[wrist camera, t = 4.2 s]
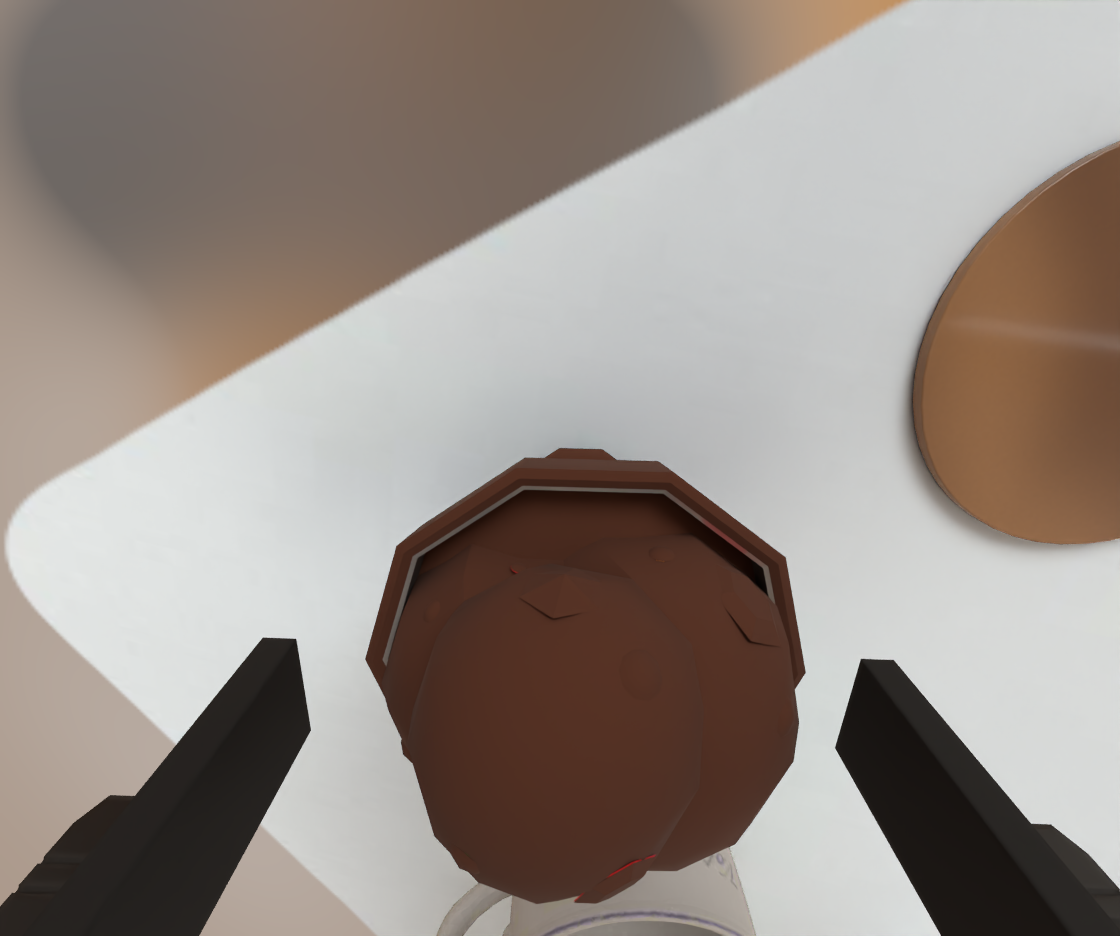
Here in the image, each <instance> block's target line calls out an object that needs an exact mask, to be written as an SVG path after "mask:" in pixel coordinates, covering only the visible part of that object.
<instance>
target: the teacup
mask: <svg viewBox="0 0 1120 936" xmlns="http://www.w3.org/2000/svg"><path fill="white" fill-rule="evenodd" d="M509 896H511V895H510V894H508V893H505V892H502V891H500V890H497V889H494V888H492V887H489V886H486V885H483V884H481V883H478V884H477V885H476V886H474V887H473V888H471V889H470V890H469V891H468V892H467V893H466V894H465V895H464V896H463V897H462V898H461V899H459V900H458V901H457V902H456V903H455V904H454V905H453V907H452V908H451V909H450V911H449V912H448V913H447V915H446V916H445V918H444V920H443V922H442V924H441V926H440V928H439V931H438V933H437V936H463V935H464V934H465V932H466V931H467V930H468V928H469V927H470V926H471V925H472V924H473V923H474V921H475V920H476V919H477V918H478V917H479V916H480V915H481V914H483V913H484V912H485V911H487V910H488V909H489V908H490V907H492V906H493V905H494V904H496V903H498V902H499V901H501V900H502V899H504V898H507V897H509ZM577 897H579V896H576V897H572V898H568V899H564V900H560V901H554V902H548V903H542V904H535V903H532V902H529V901H527V900H524V899H521V898H519V897H516V896H513V895H512V905H511V919H510V924H509V925H508V926H507V927H506V929H505V930H504V933H503V936H756V933H755V930H754V926H753V923H752V919H751V915H750V912H749V908H748V905H747V902H746V898H745V895H744V892H743V888H742V885H741V882H740V879H739V875H738V872H737V869H736V866H735V863H734V860H733V857H732V854H731V852H730V849H729V847H728V848H726V849H724V850H722V851H719V852H717V853H715V854H713V855H711V856H709V857H706V858H704V859H702V860H700V861H698V862H696V863H693V864H691V865H689V866H687V867H685V868H683V869H680V870H678V871H647V872H646V874H645V875H644V877H643V878H641V879H640V880H639V881H638V882H636V883H635V884H634V885H632V886H631V887H629V888H627V889H625V890H624V891H622V892H620V893H618V894H617V895H615V896H613V897H611V898H610V899H607V900H604V901H602V902H599V903H597V904H589V903H574V902H575V901H574V900H575V899H576V898H577Z"/></svg>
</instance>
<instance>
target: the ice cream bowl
mask: <svg viewBox="0 0 1120 936" xmlns="http://www.w3.org/2000/svg"><path fill="white" fill-rule="evenodd" d="M365 660H366V662H367V664H368V666H369V667H370V669H371V671H372V673H373V675H374V677H375V679H376V681H377V683H378V685H379V687H380V689H381V691H382V692H383V694H384V696H385V699H386V703H387V707H388V710H389V713H390V715H391V717H392V719H393V721H394V723H395V725H396V728H397V730H398V732H399V734H400V736H401V738H402V740H401V744H402V750H403V755H404V756H405V757H406V758H407V759H408V760H409V761H410V762H411V763H413V766H414V769H415V772H416V776H417V779H418V783H419V786H420V789H421V793H422V796H423V799H424V803H425V806H426V810H427V813H428V816H429V820H430V823H431V826H432V830H433V833H434V836H435V837H436V838H437V840H438V841H439V842H440V843H441V844H442V845H443V846H444V847H445V848H446V849H447V850H448V851H449V852H450V853H451V855H452V857H453V859H454V860H455V862H456V863H457V865H458V867H459V868H460V869H463V870H465V871H468V872H469V873H470V874H471V875H472V876H473V877H474V878H475V880H476V881H477V882H478V883H481V884H483V885H486V886H489V887H492V888H494V889H497V890H500V891H502V892H505V893H508V894H510V895H513V896H516V897H519V898H521V899H524V900H527V901H529V902H532V903H535V904H542V903H548V902H554V901H560V900H564V899H568V898H572V897H576V896H579V897H577V898H576V899H575V900H574V901H575V902H574V903H589V904H597V903H599V902H602V901H604V900H607V899H610V898H611V897H613V896H615V895H617V894H618V893H620V892H622V891H624V890H625V889H627V888H629V887H631V886H632V885H634V884H635V883H636V882H638V881H639V880H640V879H641V878H643V877H644V875H645V874H646V872H647V871H678V870H680V869H683V868H685V867H687V866H689V865H691V864H693V863H696V862H698V861H700V860H702V859H704V858H706V857H709V856H711V855H713V854H715V853H717V852H719V851H722V850H724V849H726V848H728V847H730V846H732V845H734V844H736V842H737V841H738V840H739V838H740V837H741V836H742V834H743V833H744V832H745V831H746V829H747V828H748V827H749V825H750V824H751V823H752V821H753V820H754V818H755V817H756V815H757V814H758V812H759V811H760V809H761V808H762V806H763V805H764V804H765V802H766V801H767V799H768V798H769V796H770V795H771V793H772V792H773V790H774V789H775V787H776V786H777V784H778V783H779V782H780V780H781V779H782V777H783V776H784V774H785V773H786V771H787V770H788V768H789V767H790V765H791V764H792V763H793V760H794V754H795V747H796V740H797V733H798V726H799V719H798V711H797V704H796V696H795V688H796V687H797V685H798V684H799V682H800V681H801V679H802V677H803V676H804V674H805V673H806V672H805V666H804V661H803V655H802V649H801V643H800V638H799V632H798V626H797V620H796V615H795V609H794V603H793V597H792V591H791V586H790V580H789V574H788V568H787V563H786V557H784V556H783V555H782V554H780V553H779V552H778V551H776V550H775V549H774V548H772V547H771V546H770V545H769V544H767V543H766V542H765V541H763V540H762V539H761V538H759V537H758V536H757V535H755V534H754V533H753V532H751V531H750V530H749V529H747V528H746V527H745V526H744V525H742V524H741V523H740V522H738V521H737V520H736V519H734V518H733V517H732V516H730V515H729V514H728V513H726V512H725V511H724V510H722V509H721V508H720V507H719V506H717V505H716V504H715V503H713V502H712V501H711V500H709V499H708V498H707V497H705V496H704V495H703V494H701V493H700V492H699V491H698V490H696V489H695V488H694V487H692V486H691V485H690V484H688V483H687V482H686V481H684V480H683V479H682V478H680V477H679V476H678V475H676V474H675V473H674V472H672V471H671V470H670V469H668V468H667V467H665V466H664V465H663V464H661V463H660V462H658V461H626V460H616V459H615V458H613V457H612V456H610V455H609V454H608V453H606V452H605V451H604V450H602V449H567V448H559V449H558V450H556V451H555V452H553V453H551V454H550V455H548V456H547V457H545V458H524V459H522V460H521V461H519V462H518V463H516V464H515V465H513V466H512V467H510V468H509V469H507V470H505V471H504V472H502V473H501V474H499V475H498V476H496V477H495V478H493V479H492V480H490V481H489V482H487V483H486V484H484V485H483V486H481V487H480V488H478V489H477V490H475V491H474V492H472V493H470V494H469V495H467V496H466V497H464V498H463V499H461V500H460V501H458V502H457V503H455V504H454V505H452V506H451V507H449V508H448V509H446V510H445V511H443V512H442V513H440V514H438V515H437V516H435V517H434V518H432V519H431V520H429V521H428V522H426V523H425V524H423V525H422V526H421V527H419V528H418V529H417V530H416V531H415V532H413V533H412V534H411V535H410V536H408V537H407V538H406V539H405V540H404V541H402V542H401V543H400V544H399V545H397V546H396V550H395V554H394V557H393V561H392V565H391V568H390V572H389V575H388V579H387V583H386V586H385V590H384V593H383V597H382V601H381V604H380V608H379V612H378V615H377V619H376V622H375V626H374V630H373V633H372V637H371V640H370V644H369V648H368V651H367V655H366V659H365Z"/></svg>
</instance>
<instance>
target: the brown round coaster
mask: <svg viewBox="0 0 1120 936" xmlns="http://www.w3.org/2000/svg"><path fill="white" fill-rule="evenodd" d="M913 413H914V426H915V430H916V435H917V439H918V443H919V447H920V450H921V452H922V455H923V457H924V460H925V462H926V465H927V467H928V469H929V471H930V472H931V474H932V476H933V477H934V479H935V480H936V482H937V484H938V485H939V486H940V488H941V489H942V490H943V491H944V492H945V493H946V494H947V496H948V497H949V498H950V499H951V500H952V501H953V502H954V503H956V504H957V505H958V506H959V507H960V508H962V509H963V510H964V511H965V512H967V513H968V514H970V515H971V516H973V517H974V518H976V519H978V520H979V521H981V522H983V523H985V524H986V525H988V526H990V527H992V528H993V529H996V530H998V531H1001V532H1004V533H1006V534H1009V535H1011V536H1014V537H1018V538H1022V539H1027V540H1031V541H1035V542H1044V543H1054V544H1087V543H1095V542H1103V541H1111V540H1115V539H1119V538H1120V141H1119V142H1116V143H1114V144H1112V145H1109V146H1107V147H1105V148H1103V149H1100V150H1098V151H1096V152H1093V153H1091V154H1089V155H1087V156H1085V157H1084V158H1082V159H1080V160H1078V161H1077V162H1075V163H1073V164H1071V165H1070V166H1068V167H1066V168H1065V169H1063V170H1061V171H1059V172H1058V173H1056V174H1055V175H1053V176H1052V177H1051V178H1049V179H1048V180H1047V181H1045V182H1044V183H1042V184H1041V185H1040V186H1038V187H1037V188H1035V189H1034V190H1033V191H1031V192H1030V193H1028V194H1027V195H1026V196H1025V197H1024V198H1023V199H1022V200H1020V201H1019V202H1018V203H1017V204H1016V205H1015V206H1014V207H1013V208H1011V209H1010V210H1009V211H1008V212H1007V213H1006V214H1005V215H1003V216H1002V217H1001V218H1000V219H999V221H998V222H997V223H996V224H995V225H994V226H993V227H992V228H991V229H990V230H989V231H988V232H987V233H986V235H985V236H984V237H983V238H982V239H981V240H980V241H979V242H978V243H977V245H976V246H975V247H974V249H973V250H972V251H971V253H970V254H969V255H968V257H967V258H966V259H965V261H964V262H963V263H962V264H961V266H960V267H959V268H958V270H957V272H956V273H955V275H954V277H953V278H952V280H951V282H950V283H949V285H948V286H947V288H946V290H945V291H944V293H943V295H942V297H941V299H940V301H939V303H938V305H937V307H936V309H935V311H934V314H933V316H932V318H931V320H930V322H929V325H928V328H927V331H926V334H925V337H924V340H923V342H922V345H921V348H920V352H919V357H918V362H917V367H916V372H915V377H914V391H913Z"/></svg>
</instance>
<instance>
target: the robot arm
mask: <svg viewBox="0 0 1120 936" xmlns="http://www.w3.org/2000/svg"><path fill="white" fill-rule="evenodd" d="M310 731H311V727H310V721H309V715H308V709H307V703H306V697H305V690H304V684H303V678H302V672H301V666H300V660H299V653H298V647H297V641H296V639H284V638H262V639H261V641H260V642H259V643H258V644H257V646H256V647H255V648H254V649H253V651H252V652H251V653H250V654H249V656H248V657H247V658H246V659H245V661H244V662H243V663H242V664H241V665H240V667H239V668H238V669H237V670H236V672H235V673H234V674H233V675H232V677H231V678H230V679H229V680H228V682H227V683H226V684H225V685H224V686H223V688H222V689H221V690H220V691H219V693H218V694H217V695H216V696H215V698H214V699H213V700H212V701H211V703H210V704H209V705H208V706H207V708H206V709H205V710H204V711H203V712H202V714H201V715H200V716H199V717H198V719H197V720H196V721H195V722H194V724H193V725H192V726H191V727H190V729H189V730H188V731H187V732H186V734H185V735H184V736H183V737H182V738H181V740H180V741H179V742H178V743H177V745H176V746H175V747H174V748H173V750H172V751H171V752H170V753H169V755H168V756H167V757H166V758H165V760H164V761H163V762H162V763H161V765H160V766H159V767H158V768H157V769H156V771H155V772H154V773H153V775H152V776H151V777H150V778H149V780H148V781H147V782H146V783H145V784H144V786H143V787H142V788H141V789H140V790H139V792H138V793H137V794H136V795H135V796H116V795H110V796H108V797H107V798H106V799H104V800H103V801H102V802H101V803H99V804H98V805H97V806H95V807H94V808H93V809H91V810H90V811H89V812H87V813H86V814H85V815H84V816H82V817H81V818H80V819H78V820H77V821H76V822H74V823H73V824H72V826H71V827H70V828H69V829H68V830H67V831H66V832H65V833H64V834H63V836H62V837H61V838H60V839H59V840H58V841H57V843H56V844H55V845H54V846H53V847H52V848H51V849H50V851H49V852H48V853H47V854H46V855H45V856H44V860H43V861H42V863H41V864H37V865H36V866H35V867H34V869H33V870H32V871H31V872H30V873H29V874H28V875H27V877H26V878H25V879H24V880H23V881H22V882H21V883H20V884H19V888H18V890H17V891H16V892H15V893H12V894H11V895H10V896H9V897H8V898H7V899H6V901H5V902H4V903H3V904H2V905H1V906H0V936H199V935H200V933H201V931H202V929H203V928H204V926H205V924H206V922H207V920H208V918H209V917H210V915H211V913H212V911H213V909H214V908H215V906H216V904H217V902H218V900H219V898H220V896H221V895H222V893H223V891H224V889H225V887H226V885H227V884H228V882H229V880H230V878H231V876H232V874H233V873H234V871H235V869H236V867H237V865H238V863H239V861H240V860H241V858H242V856H243V854H244V852H245V850H246V849H247V847H248V845H249V843H250V841H251V839H252V838H253V836H254V834H255V832H256V830H257V828H258V826H259V825H260V823H261V821H262V819H263V817H264V816H265V814H266V812H267V810H268V808H269V806H270V805H271V803H272V801H273V799H274V797H275V795H276V793H277V792H278V790H279V788H280V786H281V784H282V782H283V781H284V779H285V777H286V775H287V773H288V771H289V770H290V768H291V766H292V764H293V762H294V760H295V759H296V757H297V755H298V753H299V751H300V749H301V747H302V746H303V744H304V742H305V740H306V738H307V736H308V735H309V733H310ZM835 749H836V750H837V752H838V754H839V756H840V757H841V759H842V761H843V763H844V765H845V766H846V768H847V770H848V772H849V773H850V775H851V777H852V779H853V780H854V782H855V784H856V786H857V788H858V789H859V791H860V793H861V795H862V796H863V798H864V800H865V802H866V803H867V805H868V807H869V809H870V811H871V812H872V814H873V816H874V818H875V819H876V821H877V823H878V825H879V826H880V828H881V830H882V832H883V834H884V835H885V837H886V839H887V841H888V842H889V844H890V846H891V848H892V849H893V851H894V853H895V855H896V857H897V858H898V860H899V862H900V864H901V865H902V867H903V869H904V871H905V872H906V874H907V876H908V878H909V880H910V881H911V883H912V885H913V887H914V888H915V890H916V892H917V894H918V895H919V897H920V899H921V901H922V903H923V904H924V906H925V908H926V910H927V911H928V913H929V915H930V917H931V919H932V920H933V922H934V924H935V926H936V927H937V929H938V931H939V933H940V934H941V936H1120V889H1119V888H1118V887H1117V886H1116V885H1115V883H1114V882H1113V881H1112V880H1111V879H1110V878H1109V877H1108V876H1107V875H1106V873H1105V872H1104V871H1103V870H1102V869H1101V868H1100V867H1099V866H1098V864H1097V863H1096V862H1095V861H1094V860H1093V859H1092V858H1091V857H1090V855H1089V854H1087V853H1086V852H1085V851H1084V850H1082V849H1081V848H1080V847H1079V846H1077V845H1076V844H1075V843H1073V842H1072V841H1071V840H1070V839H1068V838H1067V837H1066V836H1065V835H1063V834H1062V833H1061V832H1060V831H1058V830H1057V829H1056V828H1054V827H1053V826H1052V825H1048V824H1031V823H1030V822H1029V821H1028V820H1027V818H1026V817H1025V816H1024V815H1023V814H1022V812H1021V811H1020V810H1019V809H1018V808H1017V806H1016V805H1015V804H1014V803H1013V802H1012V800H1011V799H1010V798H1009V797H1008V796H1007V795H1006V793H1005V792H1004V791H1003V790H1002V789H1001V787H1000V786H999V785H998V784H997V783H996V781H995V780H994V779H993V778H992V777H991V775H990V774H989V773H988V772H987V771H986V770H985V768H984V767H983V766H982V765H981V764H980V762H979V761H978V760H977V759H976V758H975V756H974V755H973V754H972V753H971V752H970V750H969V749H968V748H967V747H966V746H965V745H964V743H963V742H962V741H961V740H960V739H959V737H958V736H957V735H956V734H955V733H954V731H953V730H952V729H951V728H950V727H949V725H948V724H947V723H946V722H945V721H944V720H943V718H942V717H941V716H940V715H939V714H938V712H937V711H936V710H935V709H934V708H933V706H932V705H931V704H930V703H929V702H928V700H927V699H926V698H925V697H924V696H923V695H922V693H921V692H920V691H919V690H918V689H917V687H916V686H915V685H914V684H913V683H912V681H911V680H910V679H909V678H908V677H907V675H906V674H905V673H904V672H903V671H902V670H901V668H900V667H899V666H898V665H897V664H896V662H895V661H894V660H874V659H861V661H860V664H859V668H858V671H857V675H856V678H855V682H854V685H853V688H852V692H851V695H850V699H849V702H848V706H847V709H846V712H845V716H844V719H843V723H842V726H841V730H840V733H839V736H838V740H837V743H836V747H835Z"/></svg>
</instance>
